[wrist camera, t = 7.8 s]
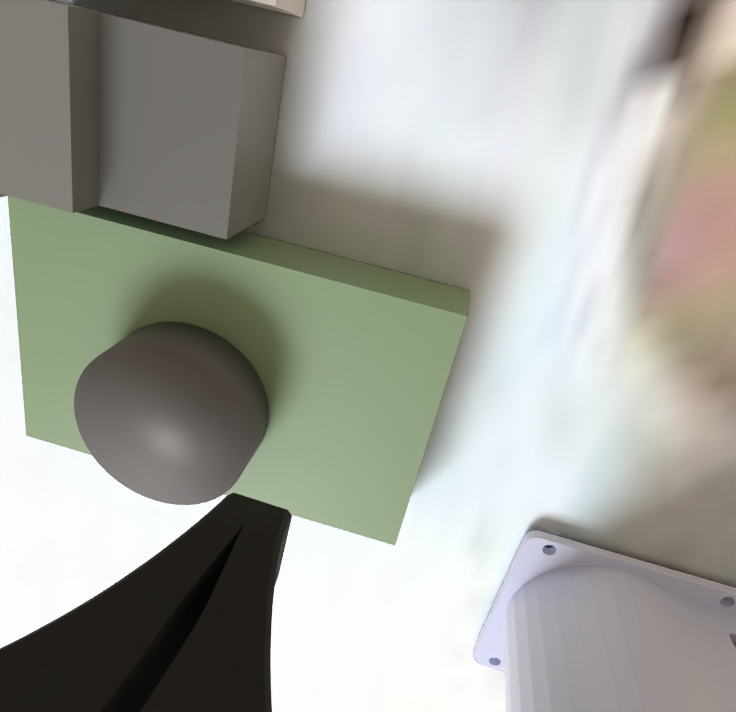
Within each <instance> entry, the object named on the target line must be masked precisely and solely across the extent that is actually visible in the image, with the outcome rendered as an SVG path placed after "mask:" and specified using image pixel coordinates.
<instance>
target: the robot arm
mask: <svg viewBox="0 0 736 712" xmlns="http://www.w3.org/2000/svg"><path fill="white" fill-rule="evenodd" d="M291 517H292V515H291V514H290V512H289V511H288V510H287V509H284V508H281V507H278V506H274V505H271V504H268V503H265V502H262V501H259V500H256V499H253V498H249V497H246V496H243V495H240V494H237V493H231V494H229V495H227V496H226V497H225V498H224V499H223V500H222V501H221V502H220V503H219V504H218V505H217V506H216V507H214V508H213V509H212V510H211V511H210V512H209V513H208V514H207V515H205V516H204V517H203V518H202V519H201V520H200V521H198V522H197V523H196V524H195V525H193V526H192V527H191V528H190V529H189V530H187V531H186V532H185V533H184V534H182V535H181V536H180V537H179V538H177V539H176V540H175V541H173V542H172V543H171V544H170V545H168V546H167V547H166V548H164V549H163V550H162V551H161V552H159V553H158V554H157V555H155V556H154V557H153V558H151V559H150V560H148V561H147V562H146V563H144V564H143V565H141V566H140V567H138V568H137V569H135V570H134V571H133V572H131V573H130V574H128V575H127V576H125V577H124V578H123V579H121V580H120V581H118V582H117V583H115V584H114V585H112V586H111V587H109V588H108V589H106V590H104V591H103V592H101V593H100V594H98V595H97V596H95V597H93V598H92V599H90V600H89V601H87V602H85V603H84V604H82V605H80V606H79V607H77V608H75V609H73V610H72V611H70V612H68V613H67V614H65V615H63V616H61V617H60V618H58V619H56V620H54V621H52V622H50V623H49V624H47V625H45V626H43V627H41V628H39V629H38V630H36V631H34V632H32V633H30V634H28V635H27V636H25V637H23V638H21V639H19V640H17V641H15V642H13V643H11V644H9V645H7V646H5V647H3V648H1V649H0V712H272V706H271V674H270V647H271V619H272V604H273V594H274V586H275V583H276V580H277V577H278V574H279V570H280V565H281V561H282V557H283V552H284V548H285V543H286V539H287V535H288V530H289V526H290V522H291ZM546 545H552V546H553V547H551V548H546V547H544V546H546ZM726 597H729V598H727V599H723V598H726ZM493 657H495V658H493ZM473 658H474V660H475V661H476V662H477V663H479V664H481V665H484V666H488V667H491V668H494V669H497V670H501V671H504V675H505V699H506V712H736V588H734V587H731V586H728V585H724V584H721V583H717V582H714V581H710V580H707V579H703V578H700V577H697V576H693V575H690V574H686V573H683V572H679V571H676V570H673V569H669V568H666V567H662V566H659V565H655V564H652V563H648V562H645V561H642V560H638V559H635V558H631V557H628V556H624V555H621V554H618V553H614V552H611V551H607V550H604V549H600V548H597V547H593V546H590V545H587V544H583V543H580V542H576V541H573V540H569V539H566V538H563V537H559V536H556V535H552V534H549V533H545V532H542V531H536V530H535V531H530V532H528V533H526V535H525V536H524V538H523V540H522V542H521V544H520V546H519V549H518V551H517V553H516V555H515V557H514V560H513V562H512V564H511V566H510V568H509V571H508V573H507V575H506V577H505V579H504V582H503V584H502V586H501V588H500V590H499V593H498V595H497V597H496V599H495V601H494V604H493V606H492V608H491V610H490V612H489V615H488V617H487V619H486V621H485V624H484V626H483V628H482V630H481V632H480V635H479V637H478V639H477V641H476V643H475V646H474V648H473Z"/></svg>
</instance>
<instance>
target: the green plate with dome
mask: <svg viewBox="0 0 736 712" xmlns="http://www.w3.org/2000/svg"><path fill="white" fill-rule="evenodd" d="M229 1H233V2H237V3H242V4H246V5H250V6H255V7H259V8H263V9H267V10H272V11H276V12H280V13H284V14H289V15H293V16H297V17H302V18H303V15H304V8H305V1H306V0H229ZM3 196H8V195H4V194H0V197H3ZM8 203H9V216H10V229H11V242H12V255H13V268H14V281H15V294H16V307H17V320H18V333H19V345H20V358H21V371H22V384H23V397H24V410H25V423H26V435H27V436H30V437H33V438H37V439H40V440H43V441H47V442H50V443H53V444H57V445H60V446H63V447H67V448H70V449H73V450H77V451H80V452H84V453H87V454H90V455H93V457H94V458H95V459H96V460H97V462H98V463H99V464H100V465H101V466H102V467H103V468H104V469H105V470H106V471H107V472H108V473H109V474H110V475H111V476H112V477H114V478H115V479H116V480H117V481H119V482H120V483H121V484H123V485H124V486H126V487H128V488H129V489H131V490H133V491H134V492H136V493H138V494H141V495H143V496H145V497H148V498H150V499H153V500H156V501H160V502H164V503H170V504H177V505H191V504H199V503H204V502H208V501H210V500H213V499H216V498H217V497H219V496H221V495H223V494H224V495H229V494H231V493H237V494H240V495H243V496H246V497H249V498H253V499H256V500H259V501H262V502H265V503H268V504H271V505H274V506H278V507H281V508H284V509H287V510H288V511H289V512H290V514H292V515H295V516H298V517H302V518H305V519H308V520H312V521H315V522H318V523H322V524H325V525H328V526H332V527H335V528H339V529H342V530H345V531H349V532H352V533H355V534H359V535H362V536H365V537H369V538H372V539H375V540H379V541H382V542H386V543H389V544H392V545H395V544H396V540H397V537H398V534H399V531H400V528H401V525H402V521H403V518H404V515H405V512H406V509H407V506H408V503H409V499H410V496H411V493H412V490H413V487H414V484H415V480H416V477H417V474H418V471H419V468H420V465H421V462H422V458H423V455H424V452H425V449H426V446H427V443H428V439H429V436H430V433H431V430H432V427H433V424H434V421H435V417H436V414H437V411H438V408H439V405H440V402H441V398H442V395H443V392H444V389H445V386H446V383H447V380H448V376H449V373H450V370H451V367H452V364H453V361H454V358H455V354H456V351H457V348H458V345H459V342H460V339H461V335H462V332H463V329H464V326H465V323H466V320H467V317H468V299H469V290H465V289H461V288H457V287H454V286H450V285H446V284H442V283H438V282H435V281H431V280H427V279H423V278H419V277H416V276H412V275H408V274H404V273H400V272H397V271H393V270H389V269H385V268H381V267H378V266H374V265H370V264H366V263H363V262H359V261H355V260H351V259H347V258H344V257H340V256H336V255H332V254H328V253H325V252H321V251H317V250H313V249H309V248H306V247H302V246H298V245H294V244H290V243H287V242H283V241H279V240H275V239H271V238H268V237H264V236H260V235H256V234H252V233H249V232H245V231H241V232H239V233H237V234H235V235H234V236H232V237H230V238H228V239H227V240H226V239H223V238H219V237H215V236H211V235H208V234H204V233H200V232H196V231H193V230H189V229H185V228H181V227H178V226H174V225H170V224H167V223H163V222H159V221H155V220H152V219H148V218H144V217H140V216H137V215H133V214H129V213H125V212H122V211H118V210H114V209H110V208H107V207H103V206H95V207H92V208H88V209H85V210H82V211H78V212H75V213H71V212H67V211H63V210H60V209H56V208H52V207H48V206H45V205H41V204H37V203H34V202H30V201H26V200H22V199H19V198H15V197H11V196H8Z"/></svg>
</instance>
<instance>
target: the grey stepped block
mask: <svg viewBox="0 0 736 712" xmlns="http://www.w3.org/2000/svg"><path fill="white" fill-rule="evenodd" d="M286 57H287V56H284V55H280V54H275V53H271V52H267V51H263V50H259V49H255V48H251V47H247V46H242V45H238V44H234V43H230V42H226V41H222V40H218V39H214V38H209V37H205V36H201V35H197V34H193V33H189V32H185V31H181V30H176V29H172V28H168V27H164V26H160V25H156V24H152V23H147V22H143V21H139V20H135V19H131V18H127V17H123V16H119V15H114V14H110V13H106V12H102V11H98V10H94V9H90V8H86V7H81V6H77V5H73V4H69V3H64V2H60V1H55V0H0V194H4V195H8V196H11V197H15V198H19V199H22V200H26V201H30V202H34V203H37V204H41V205H45V206H48V207H52V208H56V209H60V210H63V211H67V212H71V213H75V212H78V211H82V210H85V209H88V208H92V207H95V206H103V207H107V208H110V209H114V210H118V211H122V212H125V213H129V214H133V215H137V216H140V217H144V218H148V219H152V220H155V221H159V222H163V223H167V224H170V225H174V226H178V227H181V228H185V229H189V230H193V231H196V232H200V233H204V234H208V235H211V236H215V237H219V238H223V239H226V240H227V239H228V238H230V237H232V236H234V235H235V234H237V233H239V232H241V231H242V230H244V229H246V228H248V227H249V226H251V225H253V224H255V223H256V222H258V221H260V220H262V219H263V218H265V217H266V209H267V201H268V194H269V186H270V179H271V171H272V163H273V156H274V148H275V141H276V133H277V125H278V118H279V110H280V103H281V95H282V87H283V80H284V72H285V65H286Z"/></svg>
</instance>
